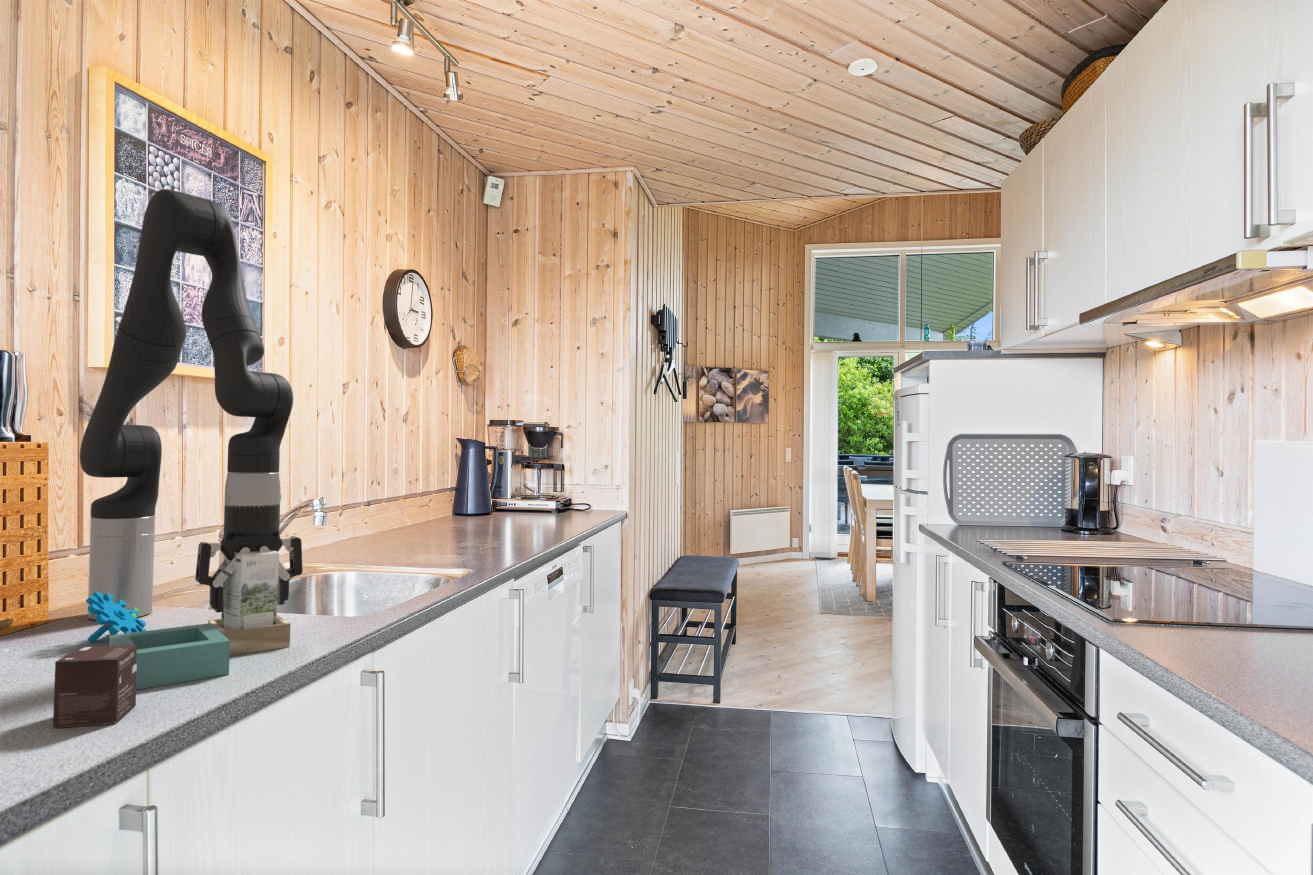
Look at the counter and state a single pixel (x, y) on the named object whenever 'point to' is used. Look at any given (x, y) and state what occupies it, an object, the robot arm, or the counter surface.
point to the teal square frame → (177, 654)
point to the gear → (113, 616)
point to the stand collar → (256, 637)
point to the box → (95, 686)
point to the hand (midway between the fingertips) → (249, 607)
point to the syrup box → (251, 591)
